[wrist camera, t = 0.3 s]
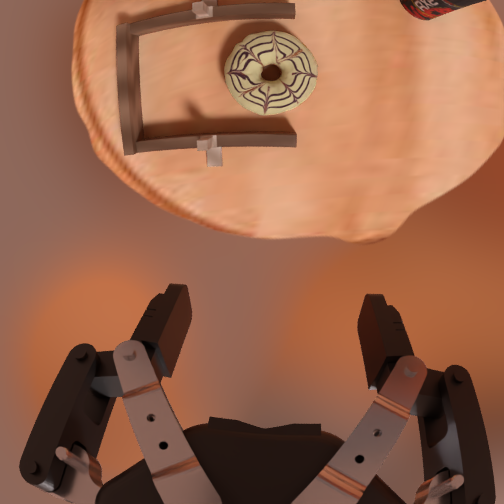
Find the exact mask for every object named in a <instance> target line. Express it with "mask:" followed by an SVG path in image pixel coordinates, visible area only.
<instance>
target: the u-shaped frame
mask: <svg viewBox="0 0 504 504" xmlns="http://www.w3.org/2000/svg"><path fill="white" fill-rule="evenodd" d="M242 19H295V3H251V4H235V5H224V6H217V0H202V1H201V2H195V3H192V10H187V11H182V12H177V13H172V14H167V15H162V16H158V17H154V18H150V19H146V20H142V21H138V22H135V23H131V24H129V23H124V24H120V25H117V27H116V56H117V83H118V99H119V112H120V123H121V132H122V141H123V149H124V156H125V155H133V154H136V153H140V152H149V151H160V150H172V149H187V148H197V151H207V165H208V167H211V166H223V165H222V147H244V146H263V147H296V143H297V135H296V133H291V132H225V133H203V134H188V135H176V136H165V137H155V138H146V139H144V131H143V120H142V108H141V93H140V74H139V36H140V35H144V34H148V33H153V32H157V31H161V30H166V29H171V28H176V27H182V26H188V25H194V24H201V23H209V22H218V21H228V20H242Z"/></svg>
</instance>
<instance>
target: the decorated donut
mask: <svg viewBox="0 0 504 504" xmlns="http://www.w3.org/2000/svg"><path fill="white" fill-rule="evenodd" d="M269 64H274V65H276V66H278V68H279V69H280V72H281V74H280V77H279V78H278V79H277V80H275V81H267V80H264V79H263V78H262V77H261V73H262V71H263V68H264V66H266V65H269ZM317 67H318V66H317V63H316V60H315V58H314V56H313V55H312V53H311V52H310V51H309V49H308V48H307V47H306V46H305V45H304V44H303V43H301V42H300V41H299V40H298V39H297V38H296V37H294V36H292V35H291V34H288V33H286V32H281V31H264V32H260V33H256V34H250V35H248V36H246V37H245V38H244V40H243V41H242V42H240V43H237V44H236V45H235V47H234V49H233V51H232V53H231V54H230V55H229V57H228V58H227V60H226V63H225V67H224V75H225V82H226V85H227V87H228V89H229V91H230V93H231V94H232V96H233V97H234V99H235V100H236V101H237V102H238V103H239V104H240V105H241V106H242V107H244V108H245V109H247V110H250V111H252V112H254V113H257V114H259V115H275V114H279V113H282V112H286V111H288V110H292V109H293V108H295V107H297V106H299V105H300V104H301V103H303V102H304V101H305V100H306V99H307V98H308V97H309V96H310V95H311V93H312V92H313V90H314V89H315V86H316V81H317V75H318V70H317Z"/></svg>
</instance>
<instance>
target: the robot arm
mask: <svg viewBox="0 0 504 504" xmlns="http://www.w3.org/2000/svg"><path fill="white" fill-rule="evenodd" d="M191 320H192V308H191V303H190V297H189V292H188V288H187V285H184V284H169V286H168V288H167V289H166V291H165V293H164V294H160V293H159V294H158V295H157V296H155V297H154V298H153V299H152V300H151V301H150V303H149V305H148V307H147V310H145V312H144V314H143V316H142V318H141V320H140V322H139V324H138V325H137V328H136V329H135V331H134V333H133V335H132V337H131V339H130V340H128V341H124V342H122V343H120V344H119V345H118V346H117V347H116V348H115V350H114V351H103V352H96V350H95V348H94V347H93V346H92V345H90V344H79V345H77V346H75V347H74V348H73V349H72V350H71V351H70V353H69V355H68V356H67V358H66V360H65V362H64V364H63V366H62V368H61V370H60V371H59V374H58V375H57V377H56V379H55V381H54V383H53V385H52V387H51V389H50V391H49V393H48V395H47V398H46V400H45V402H44V404H43V406H42V408H41V411H40V413H39V415H38V417H37V420H36V422H35V424H34V427H33V429H32V431H31V434H30V436H29V439H28V441H27V444H26V447H25V449H24V452H23V454H22V457H21V460H20V465H19V468H20V472H21V475H22V477H23V478H24V479H25V481H27V482H28V483H30V484H32V485H33V486H35V487H37V488H39V489H41V490H42V491H44V492H46V493H48V494H50V495H52V496H54V497H57V498H59V499H63V500H66V501H68V502H71V503H75V504H406V503H405V502H404V501H403V500H402V499H401V498H400V497H399V496H398V495H397V494H396V493H395V492H394V491H393V490H391V488H390V487H388V485H386V484H385V482H384V481H383V480H382V479H381V478H379V476H378V475H377V474H376V473H377V472H378V470H379V469H380V467H381V466H382V464H383V462H384V461H385V459H386V458H387V456H388V455H389V452H390V451H391V449H392V448H393V446H394V445H395V443H396V441H397V439H398V438H399V436H400V434H401V432H402V430H403V429H404V427H405V425H406V423H407V421H408V419H409V417H410V415H415V416H417V417H418V424H419V431H420V439H421V447H422V457H423V467H424V482H423V483H422V484H421V485H420V486H419V488H418V489H417V491H416V494H415V501H414V503H413V504H495V498H496V496H495V485H494V476H493V469H492V462H491V457H490V450H489V445H488V440H487V435H486V431H485V426H484V422H483V418H482V414H481V411H480V407H479V403H478V399H477V396H476V393H475V389H474V386H473V383H472V380H471V377H470V374H469V373H468V371H467V370H466V369H465V368H463V367H462V366H459V365H451V366H449V367H448V368H447V369H446V370H445V372H441V371H436V370H431V369H428V368H426V365H425V364H424V362H423V361H422V360H421V359H419V358H417V357H415V356H414V353H413V350H412V347H411V344H410V341H409V338H408V335H407V333H406V331H405V327H404V324H403V321H402V319H401V316H400V314H399V312H398V311H397V310H396V309H395V308H394V307H393V306H392V305H389V306H388V305H387V304H386V301H385V298H384V296H383V295H382V294H366V295H365V298H364V302H363V305H362V308H361V312H360V315H359V318H358V327H357V328H358V335H359V340H360V344H361V350H362V355H363V360H364V365H365V371H366V377H367V382H368V389H369V390H375V389H377V393H378V395H377V397H376V399H375V400H374V401H373V403H372V405H371V406H370V408H369V409H368V411H367V412H366V414H365V415H364V417H363V418H362V419H361V421H360V422H359V424H358V425H357V427H356V428H355V429H354V431H353V432H352V433H351V435H350V436H349V437H348V439H347V440H346V441H345V442H344V441H343V440H342V439H340V438H339V437H337V436H335V435H333V434H331V433H328V432H325V431H321V424H290V425H284V426H279V427H273V428H267V429H264V428H260V427H256V426H253V425H250V424H247V423H244V422H241V421H238V420H232V419H223V418H215V417H210V418H209V422H208V423H206V424H200V425H196V426H192V427H190V428H187V429H185V430H184V431H183V429H182V427H181V425H180V423H179V421H178V419H177V417H176V415H175V413H174V411H173V409H172V407H171V405H170V403H169V401H168V399H167V397H166V395H165V392H164V390H163V388H162V386H161V380H162V377H163V376H164V377H170V378H171V376H172V373H173V371H174V368H175V365H176V362H177V359H178V357H179V354H180V351H181V348H182V345H183V343H184V340H185V337H186V334H187V332H188V329H189V326H190V323H191ZM117 397H122V398H123V402H124V405H125V408H126V411H127V414H128V417H129V420H130V423H131V425H132V428H133V431H134V433H135V436H136V439H137V441H138V444H139V446H140V449H141V451H142V453H143V456H144V459H142V460H141V461H139V462H138V463H136V464H135V465H133V466H132V467H130V468H129V469H127V470H126V471H124V472H122V473H121V474H119V475H118V476H116V477H114V478H113V479H111V480H110V481H108V482H106V483H105V484H104V485H103V483H102V480H101V478H102V468H101V465H100V463H99V461H98V460H97V459H96V457H97V454H98V451H99V448H100V445H101V441H102V439H103V435H104V432H105V429H106V426H107V423H108V421H109V417H110V415H111V412H112V409H113V406H114V403H115V401H116V398H117Z"/></svg>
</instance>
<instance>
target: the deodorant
mask: <svg viewBox="0 0 504 504" xmlns="http://www.w3.org/2000/svg"><path fill="white" fill-rule="evenodd" d="M400 1H401V4H402V5H403V7H404V8H405V9H406V10H407V11H408V12H409V13H410V14H411V15H413V16H414V17H416V18H418V19H421V20H430V19H433V18H436V17H438V16H441V15H443V14H446V13H449V12H452V11H454V10H457V9H460V8H463V7H466V6H469V5H472V4H475V3H479V2H482V1H486V0H400Z"/></svg>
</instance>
